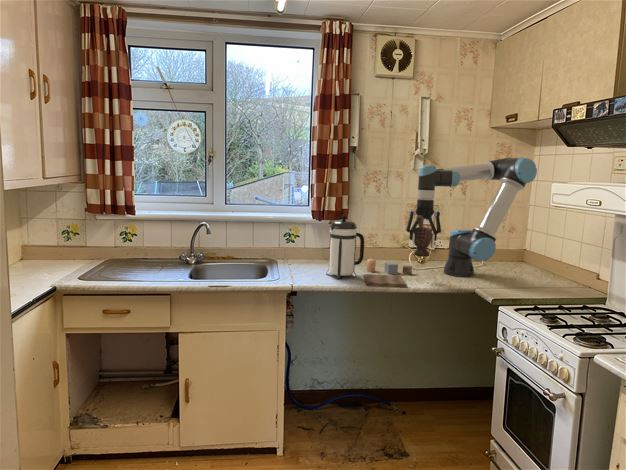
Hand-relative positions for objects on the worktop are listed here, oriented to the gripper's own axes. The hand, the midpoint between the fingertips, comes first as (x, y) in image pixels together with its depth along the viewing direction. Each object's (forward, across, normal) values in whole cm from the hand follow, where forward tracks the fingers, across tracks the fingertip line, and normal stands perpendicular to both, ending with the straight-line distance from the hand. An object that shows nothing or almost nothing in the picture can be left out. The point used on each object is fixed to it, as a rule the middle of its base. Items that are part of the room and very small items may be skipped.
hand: (422, 247), depth 213 cm
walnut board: (+17, +18, +3) cm, 24 cm away
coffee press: (+17, +36, -6) cm, 41 cm away
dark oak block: (+17, +4, -15) cm, 23 cm away
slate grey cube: (+17, +12, -16) cm, 26 cm away
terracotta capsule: (+17, +22, -18) cm, 33 cm away
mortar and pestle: (+5, 0, 0) cm, 5 cm away
